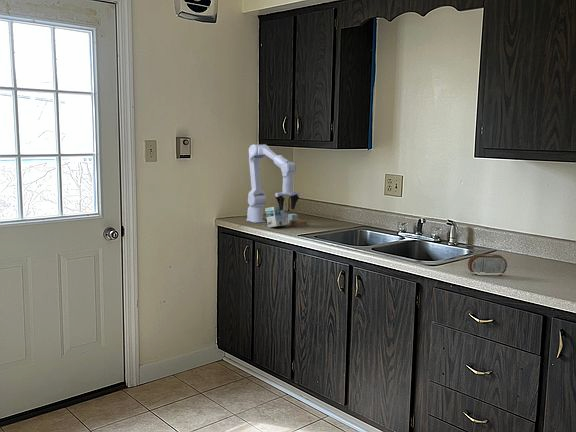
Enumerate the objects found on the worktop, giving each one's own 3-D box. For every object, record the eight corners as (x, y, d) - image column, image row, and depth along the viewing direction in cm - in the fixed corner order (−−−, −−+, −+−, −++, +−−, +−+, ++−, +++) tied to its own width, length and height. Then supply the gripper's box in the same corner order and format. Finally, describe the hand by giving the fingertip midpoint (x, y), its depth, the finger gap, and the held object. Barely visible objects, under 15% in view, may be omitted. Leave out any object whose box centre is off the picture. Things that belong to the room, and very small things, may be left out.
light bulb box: (276, 226, 323) (273, 206, 323) (267, 227, 327) (264, 208, 327) (289, 224, 331) (286, 204, 331) (280, 225, 335) (277, 206, 335)
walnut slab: (289, 225, 340) (289, 220, 339) (299, 224, 344) (299, 219, 343) (296, 227, 334) (296, 221, 333) (306, 226, 338) (306, 221, 337)
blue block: (287, 222, 347) (288, 214, 346) (293, 222, 349) (293, 213, 348) (291, 223, 344) (292, 215, 343) (297, 223, 346) (297, 214, 345)
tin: (503, 274, 239) (505, 254, 238) (507, 276, 236) (509, 255, 235) (466, 273, 239) (468, 253, 237) (469, 275, 236) (471, 254, 234)
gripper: (280, 185, 318) (280, 211, 321) (303, 184, 327) (302, 209, 329) (273, 184, 324) (272, 209, 326) (295, 183, 332) (294, 207, 334)
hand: (287, 209), depth 328 cm, fingers open, 7 cm apart
